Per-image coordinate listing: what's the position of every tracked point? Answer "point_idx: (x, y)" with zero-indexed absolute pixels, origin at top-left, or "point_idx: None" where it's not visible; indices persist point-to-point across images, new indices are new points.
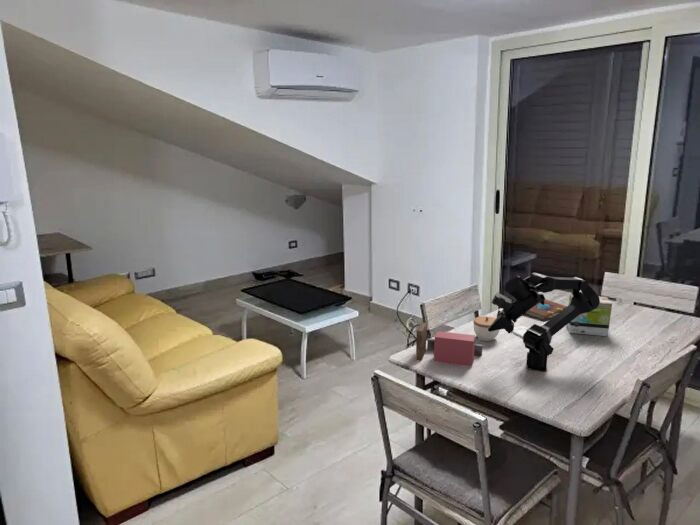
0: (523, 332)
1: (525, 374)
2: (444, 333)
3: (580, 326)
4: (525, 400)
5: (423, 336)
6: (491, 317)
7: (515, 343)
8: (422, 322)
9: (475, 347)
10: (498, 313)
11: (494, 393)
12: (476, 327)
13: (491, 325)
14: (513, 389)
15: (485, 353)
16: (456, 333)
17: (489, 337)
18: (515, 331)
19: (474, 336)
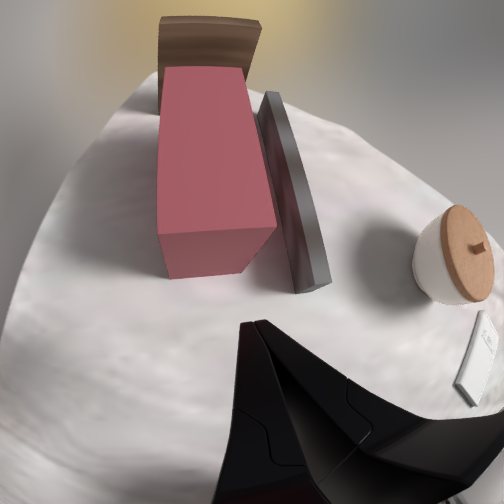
0: (480, 358)
1: (198, 485)
2: (225, 87)
3: None
4: (21, 471)
5: (193, 52)
6: (491, 259)
7: (433, 367)
8: (257, 21)
9: (304, 257)
10: (441, 489)
11: (6, 386)
12: (434, 225)
13: (246, 370)
14: (57, 449)
15: (325, 302)
16: (252, 128)
17: (422, 284)
18: (478, 336)
19: (255, 226)
